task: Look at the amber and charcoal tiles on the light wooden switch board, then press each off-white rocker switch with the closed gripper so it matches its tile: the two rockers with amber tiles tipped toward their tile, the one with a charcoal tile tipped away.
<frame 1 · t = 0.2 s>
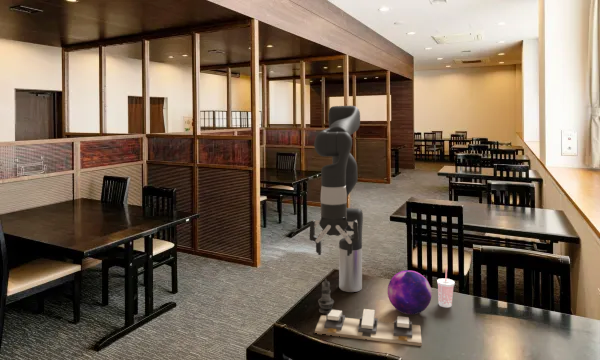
hand: (334, 254, 120), 28 cm above the table, tool pointing down, fingers open, 8 cm apart
rocker b: (368, 318, 132), point 4 cm above the table, hinge at 12.0°
switch board: (367, 330, 131), on the table
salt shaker: (326, 310, 146), on the table
rocker a: (334, 314, 135), point 4 cm above the table, hinge at -12.0°
decorative orb: (408, 312, 144), on the table
beverage cup: (445, 305, 149), on the table
rocker c: (403, 321, 129), point 4 cm above the table, hinge at -12.0°
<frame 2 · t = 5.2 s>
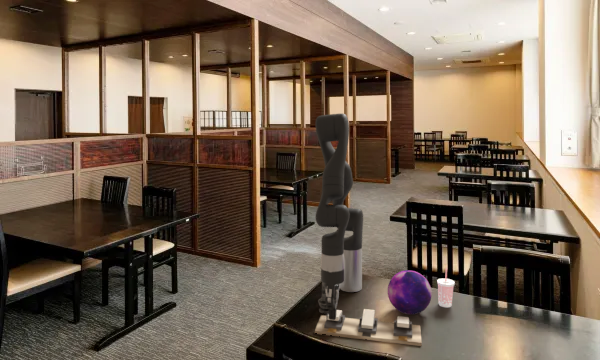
hand: (332, 318, 131), 4 cm above the table, tool pointing down, fingers closed
rocker a: (334, 314, 135), point 4 cm above the table, hinge at -10.0°, touching gripper
everything else where it was.
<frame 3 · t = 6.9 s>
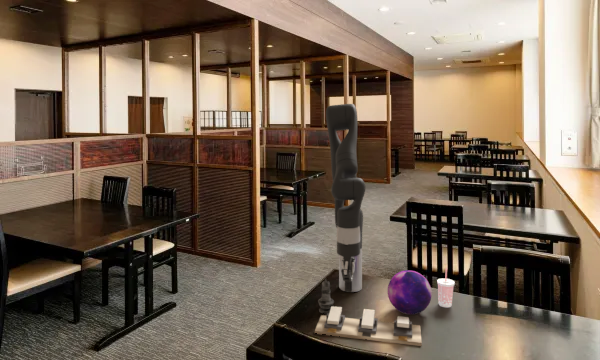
hand: (348, 290, 132), 13 cm above the table, tool pointing down, fingers closed
rocker a: (334, 315, 134), point 4 cm above the table, hinge at 8.6°
everything else where it was.
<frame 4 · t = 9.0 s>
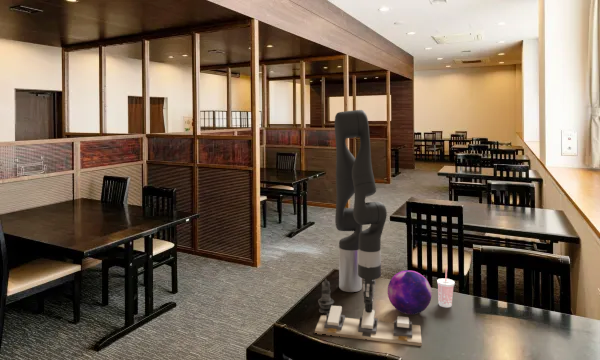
hand: (368, 311, 135), 4 cm above the table, tool pointing down, fingers closed
rocker b: (368, 318, 132), point 4 cm above the table, hinge at 10.8°, touching gripper
rocker a: (334, 315, 134), point 4 cm above the table, hinge at 14.8°
everything else where it was.
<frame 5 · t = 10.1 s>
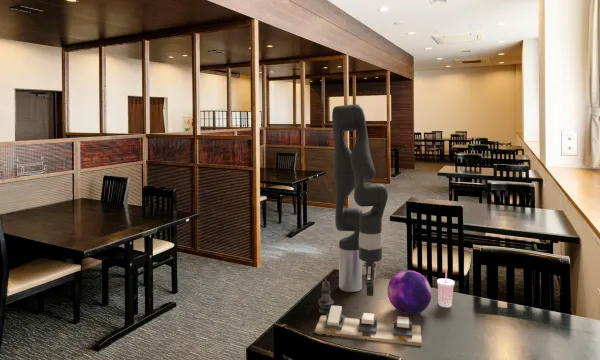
hand: (370, 295, 134), 10 cm above the table, tool pointing down, fingers closed
rocker b: (368, 318, 132), point 4 cm above the table, hinge at -11.4°
rocker a: (334, 315, 134), point 4 cm above the table, hinge at 15.6°
everything else where it was.
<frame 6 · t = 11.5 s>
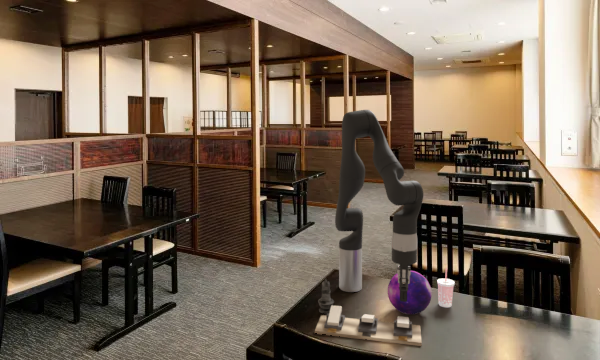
hand: (403, 300, 125), 12 cm above the table, tool pointing down, fingers closed
rocker b: (368, 318, 132), point 4 cm above the table, hinge at -18.0°, touching switch board
rocker a: (334, 315, 134), point 4 cm above the table, hinge at 16.1°
everything else where it was.
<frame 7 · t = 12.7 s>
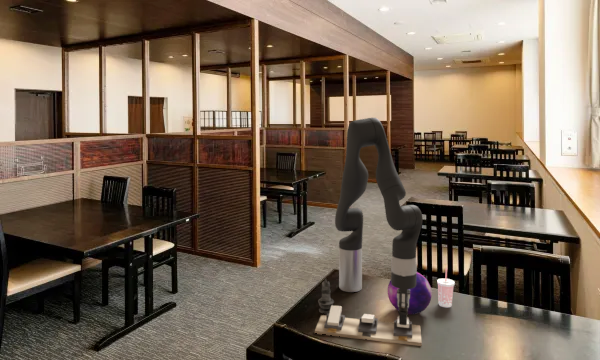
hand: (402, 323, 126), 5 cm above the table, tool pointing down, fingers closed
rocker b: (368, 318, 132), point 4 cm above the table, hinge at -16.5°
rocker c: (403, 321, 129), point 4 cm above the table, hinge at -11.7°, touching gripper
everything else where it was.
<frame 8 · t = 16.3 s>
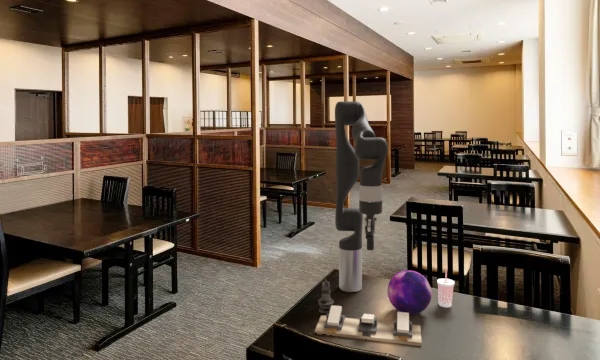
hand: (370, 249, 135), 25 cm above the table, tool pointing down, fingers closed
rocker b: (368, 318, 132), point 4 cm above the table, hinge at -15.6°
rocker c: (403, 322, 129), point 4 cm above the table, hinge at 15.3°
everything else where it was.
at the end: rocker a at +16° (first picture: -12°); rocker b at -16° (first picture: +12°); rocker c at +16° (first picture: -12°) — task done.
